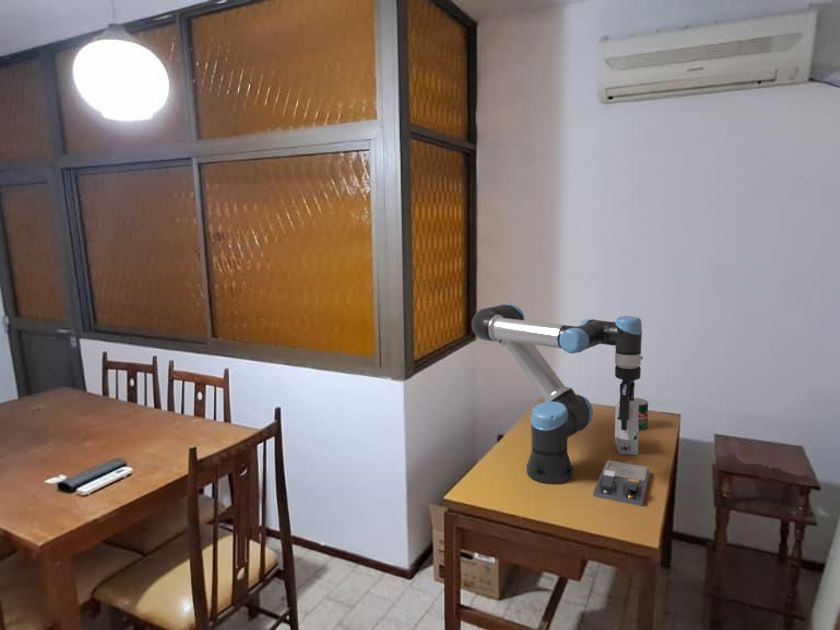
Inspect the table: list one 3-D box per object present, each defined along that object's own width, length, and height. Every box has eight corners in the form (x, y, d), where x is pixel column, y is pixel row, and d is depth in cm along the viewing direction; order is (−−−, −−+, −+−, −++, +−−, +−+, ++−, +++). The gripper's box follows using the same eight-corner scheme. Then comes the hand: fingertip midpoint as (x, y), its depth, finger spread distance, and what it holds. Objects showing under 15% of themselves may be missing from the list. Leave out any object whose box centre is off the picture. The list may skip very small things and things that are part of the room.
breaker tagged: (636, 490, 159) (636, 484, 159) (625, 488, 160) (625, 482, 160) (638, 486, 165) (639, 480, 165) (628, 484, 166) (628, 478, 166)
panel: (642, 506, 157) (642, 493, 156) (593, 496, 163) (593, 484, 163) (649, 473, 176) (650, 462, 175) (605, 466, 182) (605, 455, 182)
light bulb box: (638, 455, 190) (639, 426, 188) (618, 454, 191) (619, 426, 189) (633, 443, 200) (633, 415, 198) (614, 442, 201) (614, 415, 199)
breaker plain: (611, 491, 163) (611, 486, 162) (601, 489, 164) (601, 484, 163) (615, 476, 168) (615, 471, 167) (605, 474, 170) (605, 469, 169)
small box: (620, 428, 176) (621, 398, 174) (638, 431, 173) (639, 401, 171) (614, 437, 170) (615, 406, 168) (632, 440, 167) (633, 408, 165)
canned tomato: (633, 422, 220) (634, 396, 218) (651, 427, 214) (652, 401, 212) (622, 426, 216) (623, 400, 214) (640, 432, 209) (640, 405, 207)
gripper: (636, 375, 157) (634, 448, 161) (644, 358, 175) (642, 424, 179) (609, 373, 160) (608, 444, 164) (620, 356, 178) (619, 420, 182)
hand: (626, 433), depth 171 cm, fingers closed on small box, 8 cm apart
